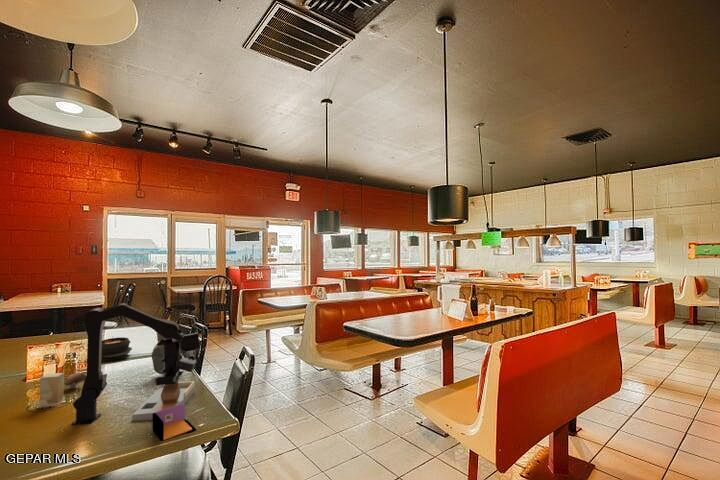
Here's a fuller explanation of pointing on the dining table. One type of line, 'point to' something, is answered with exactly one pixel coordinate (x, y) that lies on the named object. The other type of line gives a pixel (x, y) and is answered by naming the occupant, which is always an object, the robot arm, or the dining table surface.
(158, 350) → the detergent
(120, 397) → the dining table surface
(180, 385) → the deck
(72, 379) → the mushroom
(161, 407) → the tile
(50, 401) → the skincare box
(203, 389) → the dining table surface
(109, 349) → the casserole
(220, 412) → the dining table surface
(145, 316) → the robot arm
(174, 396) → the block
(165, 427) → the toy room diorama
